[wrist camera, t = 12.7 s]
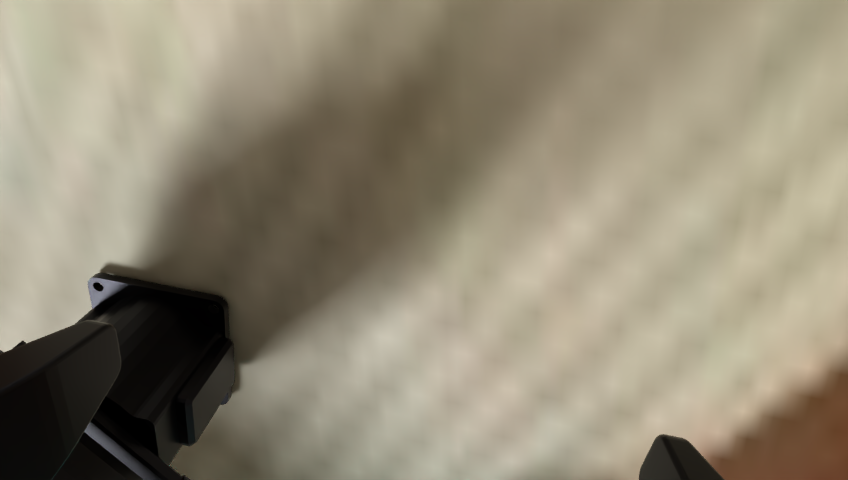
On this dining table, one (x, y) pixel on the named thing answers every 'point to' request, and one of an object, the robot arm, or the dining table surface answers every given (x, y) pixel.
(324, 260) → the dining table surface
